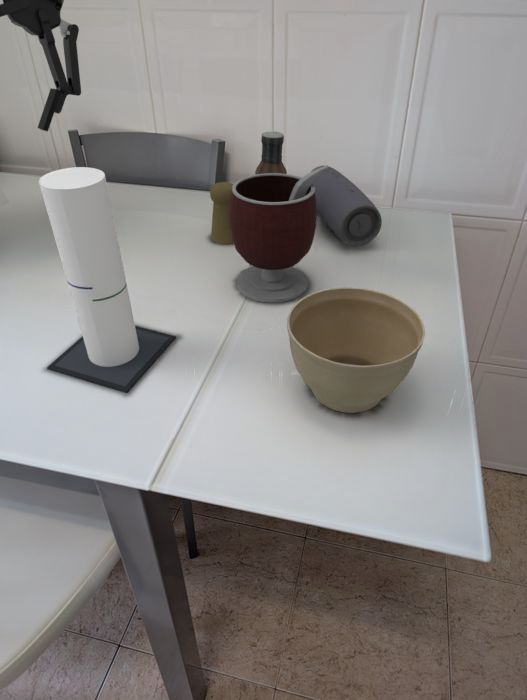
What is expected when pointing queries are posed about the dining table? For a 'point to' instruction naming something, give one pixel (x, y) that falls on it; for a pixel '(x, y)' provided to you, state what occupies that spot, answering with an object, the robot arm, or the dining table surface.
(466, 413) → the dining table surface
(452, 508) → the dining table surface
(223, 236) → the olive pepper mill
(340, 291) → the planter bowl
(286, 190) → the mate gourd
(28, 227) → the dining table surface
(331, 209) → the bluetooth speaker
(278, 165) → the sauce bottle
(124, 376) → the charcoal mat
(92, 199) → the cylindrical container
